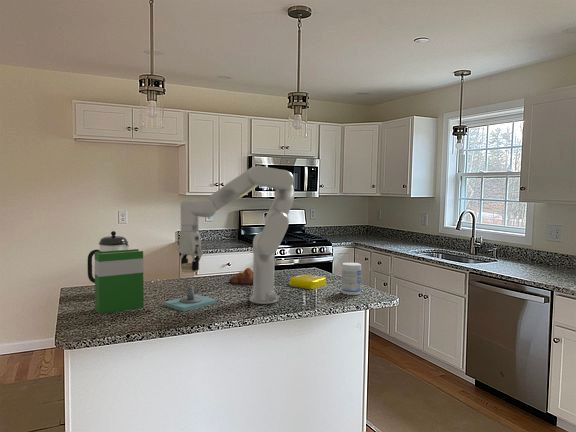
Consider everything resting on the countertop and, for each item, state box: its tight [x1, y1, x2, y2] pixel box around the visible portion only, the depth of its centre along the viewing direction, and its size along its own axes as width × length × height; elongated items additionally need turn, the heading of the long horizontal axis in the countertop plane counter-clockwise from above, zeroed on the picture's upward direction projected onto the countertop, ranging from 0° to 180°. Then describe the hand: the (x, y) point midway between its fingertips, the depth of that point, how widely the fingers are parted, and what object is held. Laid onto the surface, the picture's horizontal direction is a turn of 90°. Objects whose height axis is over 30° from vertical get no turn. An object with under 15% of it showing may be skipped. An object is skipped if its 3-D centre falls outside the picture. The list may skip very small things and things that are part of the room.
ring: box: [180, 262, 199, 274], centre depth 194 cm, size 7×7×3 cm
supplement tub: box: [341, 262, 362, 296], centre depth 218 cm, size 10×10×15 cm
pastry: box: [228, 267, 253, 286], centre depth 240 cm, size 17×15×8 cm
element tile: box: [289, 273, 327, 290], centre depth 236 cm, size 15×15×5 cm
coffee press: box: [87, 230, 131, 284], centre depth 208 cm, size 17×16×30 cm
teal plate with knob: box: [163, 286, 218, 312], centre depth 194 cm, size 14×18×8 cm
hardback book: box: [94, 248, 145, 315], centre depth 185 cm, size 18×7×24 cm, turn 125°
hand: (190, 268), depth 194 cm, fingers closed on ring, 7 cm apart
